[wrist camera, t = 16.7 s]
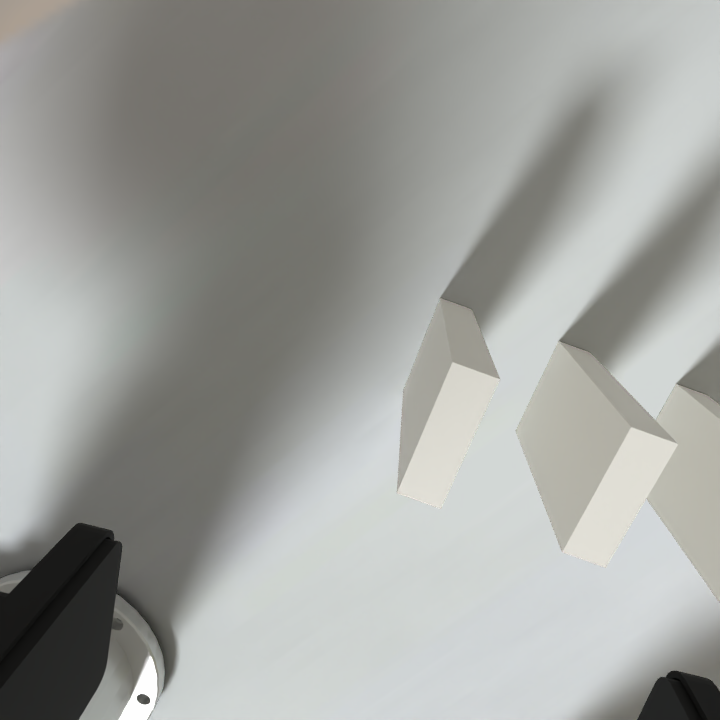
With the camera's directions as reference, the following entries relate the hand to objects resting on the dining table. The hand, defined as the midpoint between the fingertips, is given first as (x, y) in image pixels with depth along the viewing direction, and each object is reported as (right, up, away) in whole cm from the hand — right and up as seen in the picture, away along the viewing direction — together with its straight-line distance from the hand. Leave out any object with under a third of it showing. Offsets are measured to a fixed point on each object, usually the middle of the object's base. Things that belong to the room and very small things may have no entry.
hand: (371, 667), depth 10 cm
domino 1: (+4, +6, +19) cm, 20 cm away
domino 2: (+9, +4, +19) cm, 21 cm away
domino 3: (+15, +2, +19) cm, 24 cm away
